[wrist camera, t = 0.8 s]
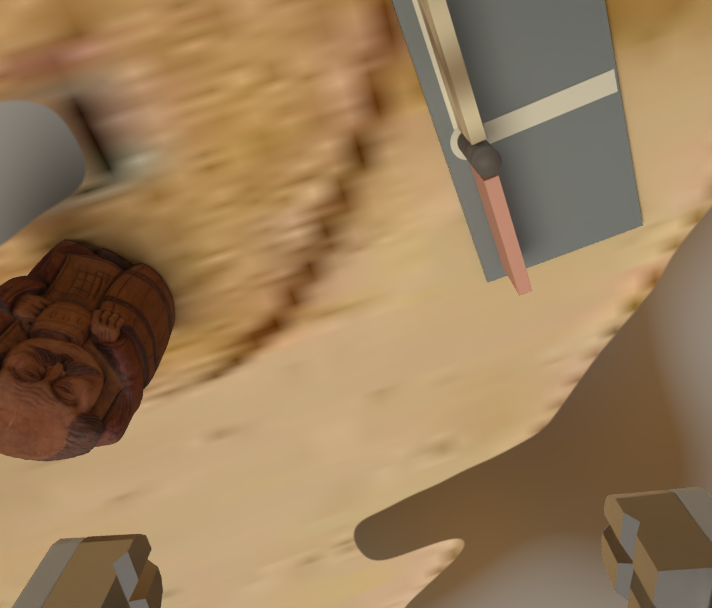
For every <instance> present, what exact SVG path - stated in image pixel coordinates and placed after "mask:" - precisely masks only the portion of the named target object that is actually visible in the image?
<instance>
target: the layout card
mask: <svg viewBox="0 0 712 608" xmlns="http://www.w3.org/2000/svg"><path fill="white" fill-rule="evenodd" d="M392 3H393V6H394V9H395V12H396V15H397V17H398V20H399V23H400V26H401V29H402V32H403V35H404V38H405V41H406V44H407V47H408V50H409V53H410V56H411V59H412V62H413V65H414V68H415V71H416V74H417V76H418V79H419V82H420V85H421V88H422V91H423V94H424V97H425V100H426V103H427V106H428V109H429V112H430V115H431V118H432V121H433V124H434V127H435V130H436V133H437V135H438V138H439V141H440V144H441V147H442V150H443V153H444V156H445V159H446V162H447V165H448V168H449V171H450V174H451V177H452V180H453V183H454V186H455V189H456V192H457V194H458V197H459V200H460V203H461V206H462V209H463V212H464V215H465V218H466V221H467V224H468V227H469V230H470V233H471V236H472V239H473V242H474V245H475V248H476V251H477V253H478V256H479V259H480V262H481V265H482V268H483V271H484V274H485V277H486V280H487V282H490V281H493V280H496V279H499V278H501V277H504V276H507V273H506V272H505V270H504V268H503V267H502V264H501V261H500V257H499V254H498V251H497V248H496V245H495V242H494V239H493V235H492V232H491V229H490V226H489V223H488V220H487V217H486V213H485V210H484V207H483V204H482V201H481V198H480V195H479V191H478V188H477V185H476V182H475V179H474V176H473V173H472V169H471V166H470V163H469V161H468V160H467V159H466V157H465V156H464V155H463V153H462V152H461V151H460V149H459V148H458V145H457V140H458V137H459V135H460V134H461V132H460V130H459V129H458V127H457V124H456V121H455V117H454V114H453V111H452V108H451V105H450V102H449V99H448V96H447V92H446V89H445V86H444V83H443V80H442V77H441V74H440V70H439V67H438V64H437V61H436V58H435V55H434V52H433V48H432V45H431V42H430V39H429V36H428V33H427V30H426V26H425V23H424V20H423V17H422V14H421V11H420V8H419V5H418V1H417V0H392ZM446 3H447V6H448V10H449V13H450V16H451V20H452V23H453V27H454V30H455V33H456V37H457V40H458V44H459V47H460V50H461V54H462V57H463V60H464V64H465V67H466V71H467V74H468V77H469V81H470V84H471V87H472V91H473V94H474V98H475V101H476V104H477V108H478V111H479V115H480V118H481V121H482V125H483V128H484V131H485V135H486V138H487V139H486V140H487V141H488V142H489V143H490V144H491V145H492V146H493V147H494V148H495V150H496V151H497V152H498V153H499V154H500V155H501V158H502V165H501V168H500V169H499V171H498V172H497V174H498V176H499V179H500V182H501V186H502V189H503V192H504V196H505V199H506V203H507V206H508V209H509V213H510V216H511V220H512V223H513V226H514V230H515V233H516V236H517V240H518V243H519V247H520V250H521V253H522V257H523V260H524V264H525V267H526V268H528V267H531V266H534V265H537V264H539V263H542V262H545V261H547V260H550V259H553V258H556V257H558V256H561V255H564V254H566V253H569V252H572V251H575V250H577V249H580V248H583V247H585V246H588V245H591V244H594V243H596V242H599V241H602V240H604V239H607V238H610V237H613V236H615V235H618V234H621V233H623V232H626V231H629V230H632V229H634V228H637V227H640V226H642V225H643V223H642V218H641V212H640V206H639V200H638V194H637V188H636V182H635V176H634V170H633V164H632V158H631V152H630V146H629V140H628V135H627V129H626V123H625V117H624V111H623V105H622V99H621V93H620V87H619V81H618V75H617V69H616V63H615V57H614V52H613V46H612V40H611V34H610V28H609V22H608V16H607V10H606V4H605V0H446Z"/></svg>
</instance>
